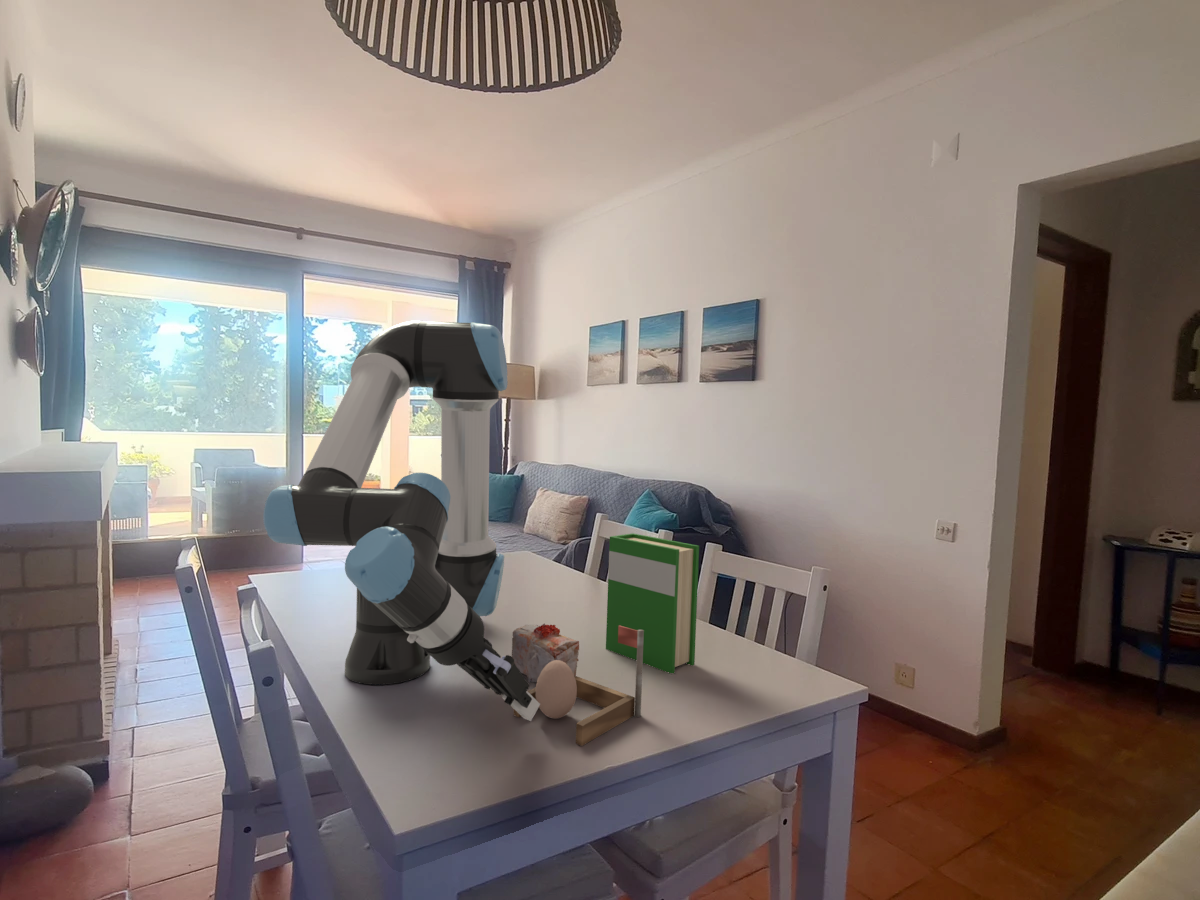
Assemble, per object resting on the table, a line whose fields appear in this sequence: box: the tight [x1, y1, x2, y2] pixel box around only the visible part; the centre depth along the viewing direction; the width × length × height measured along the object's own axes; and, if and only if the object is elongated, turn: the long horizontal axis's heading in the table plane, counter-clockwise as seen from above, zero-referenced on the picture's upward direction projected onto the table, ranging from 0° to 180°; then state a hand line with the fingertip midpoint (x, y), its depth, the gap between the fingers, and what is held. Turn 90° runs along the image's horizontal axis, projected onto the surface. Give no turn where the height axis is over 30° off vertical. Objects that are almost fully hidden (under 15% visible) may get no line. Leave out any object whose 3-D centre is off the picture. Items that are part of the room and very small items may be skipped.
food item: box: [511, 623, 580, 683], centre depth 115 cm, size 14×8×10 cm, turn 47°
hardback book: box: [605, 532, 700, 674], centre depth 127 cm, size 18×7×24 cm, turn 45°
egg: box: [535, 660, 577, 719], centre depth 99 cm, size 7×7×9 cm
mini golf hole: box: [513, 626, 644, 747], centre depth 100 cm, size 15×14×14 cm
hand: (531, 711), depth 91 cm, fingers closed
